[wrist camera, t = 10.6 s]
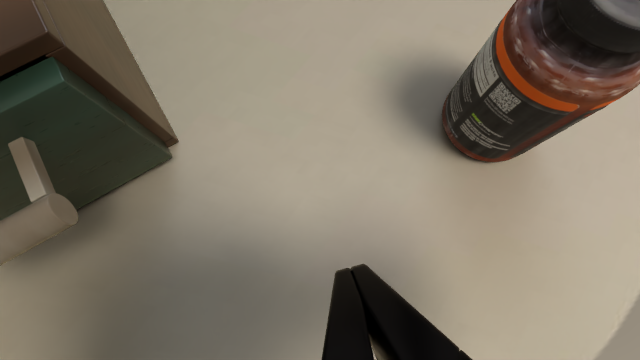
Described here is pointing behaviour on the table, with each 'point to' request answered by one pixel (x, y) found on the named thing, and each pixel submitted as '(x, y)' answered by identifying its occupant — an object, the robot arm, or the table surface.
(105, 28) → the cabinet
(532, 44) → the supplement bottle
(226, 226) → the table surface
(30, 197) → the drawer
